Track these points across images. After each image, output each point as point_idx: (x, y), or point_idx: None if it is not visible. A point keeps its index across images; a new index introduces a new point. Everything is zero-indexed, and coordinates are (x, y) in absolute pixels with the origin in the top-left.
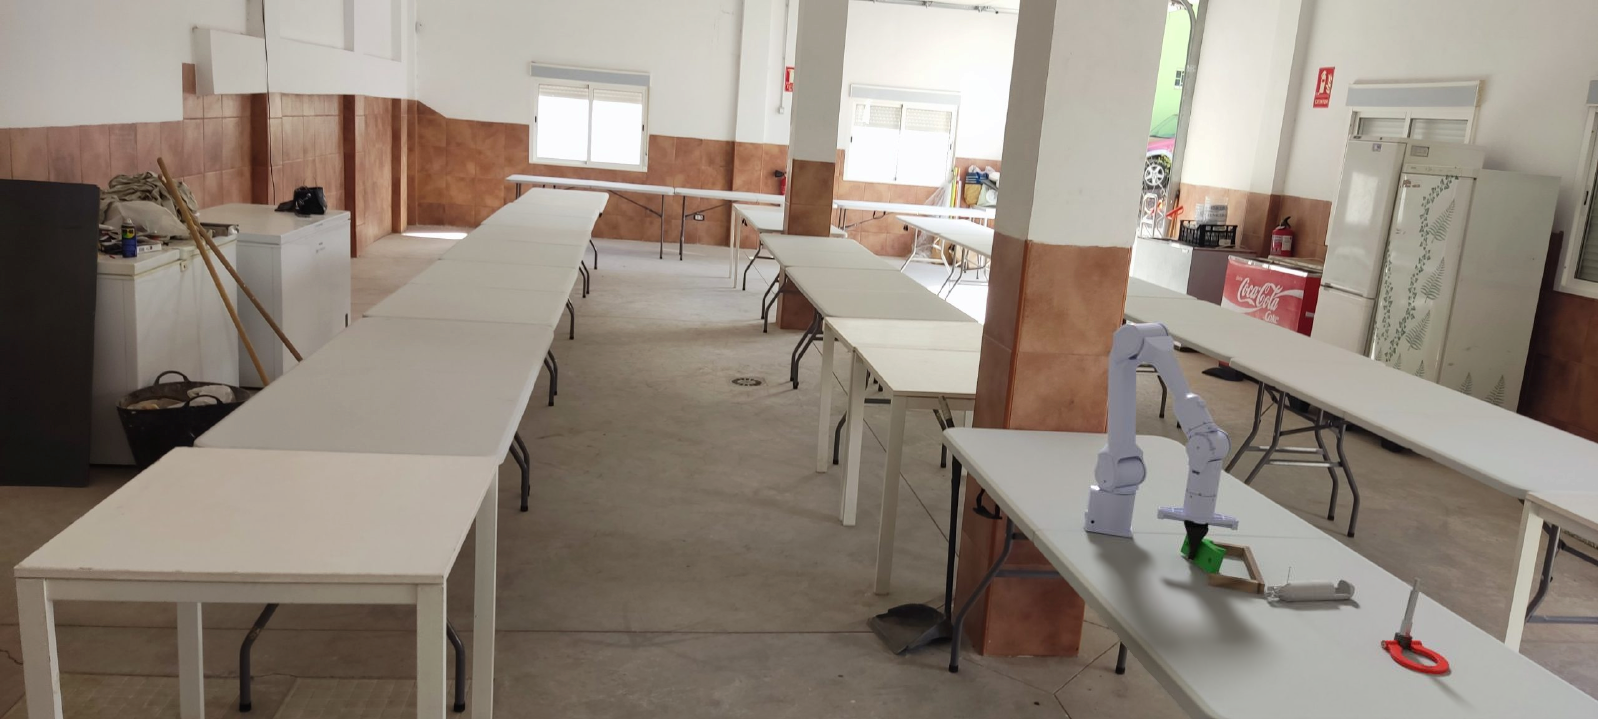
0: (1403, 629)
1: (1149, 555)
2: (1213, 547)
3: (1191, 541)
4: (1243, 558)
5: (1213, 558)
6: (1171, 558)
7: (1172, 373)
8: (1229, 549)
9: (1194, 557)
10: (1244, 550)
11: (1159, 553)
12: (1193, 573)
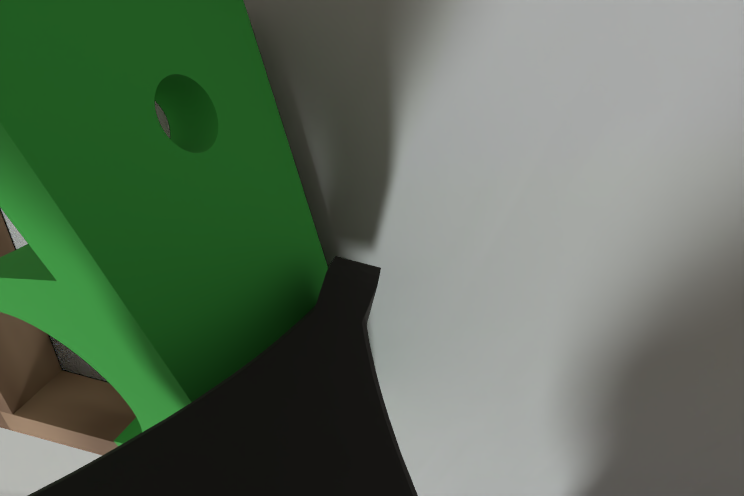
0: None
1: (597, 370)
2: (68, 288)
3: (355, 402)
4: (45, 351)
5: (106, 51)
6: (454, 340)
7: None
8: (98, 412)
9: (330, 265)
10: (7, 392)
11: (502, 394)
12: (383, 95)
